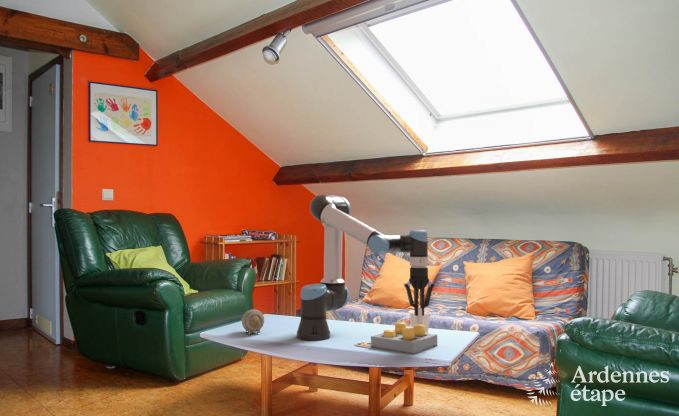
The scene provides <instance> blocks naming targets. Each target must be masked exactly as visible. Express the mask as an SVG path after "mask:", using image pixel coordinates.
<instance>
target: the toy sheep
mask: <svg viewBox="0 0 679 416" xmlns="http://www.w3.org/2000/svg"><path fill="white" fill-rule="evenodd" d="M241 325H242V327H243V329H244V330H245V332H246V331H248V332H247V333H248V335H249V334H251V335H252V333H256V334H257V333H260V334H261V329H262V328H263V327H264V325H265V316H264V315H263V313H262V312H261V311H260V310H258V309H254V308H253V309H248V310H247V311H245V312H244V313H243V315H242V317H241Z"/></svg>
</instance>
